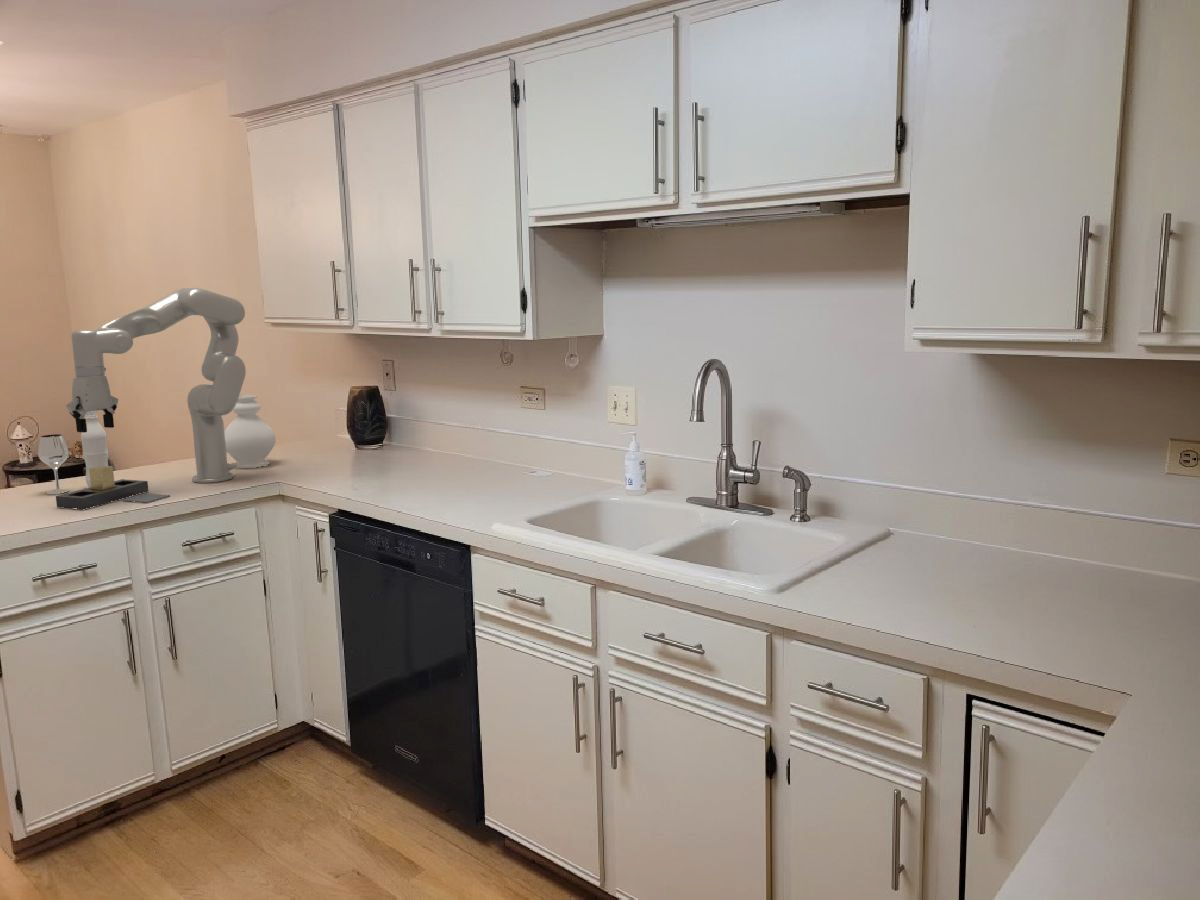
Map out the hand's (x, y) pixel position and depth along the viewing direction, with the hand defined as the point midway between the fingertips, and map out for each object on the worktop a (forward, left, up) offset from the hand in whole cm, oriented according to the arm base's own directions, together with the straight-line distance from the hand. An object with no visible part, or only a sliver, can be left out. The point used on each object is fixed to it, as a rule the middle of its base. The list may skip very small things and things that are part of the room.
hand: (95, 429), depth 264 cm
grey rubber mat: (-4, +12, -21) cm, 25 cm away
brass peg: (0, 0, -21) cm, 21 cm away
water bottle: (-13, -15, -22) cm, 30 cm away
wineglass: (-4, -22, -22) cm, 31 cm away
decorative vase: (-57, +8, -22) cm, 62 cm away
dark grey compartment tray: (0, 0, -21) cm, 21 cm away
